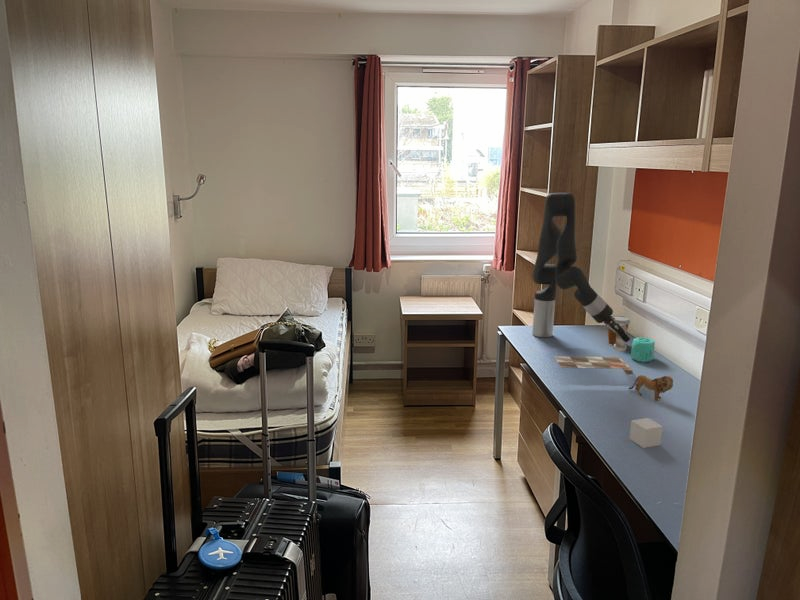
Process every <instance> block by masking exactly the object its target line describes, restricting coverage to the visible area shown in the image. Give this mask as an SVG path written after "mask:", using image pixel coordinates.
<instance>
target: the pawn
mask: <svg viewBox="0 0 800 600" xmlns="http://www.w3.org/2000/svg"><path fill="white" fill-rule="evenodd" d="M620 326H621V328H622V329H623V330H624V331H625V333H626V331H627V332H628V329H627V327H626V325H624V324H620ZM626 334H627V333H626ZM612 346H613V347H612V348H613V350H615V351H619V352H624V351H626V350H627V348H628V347H627V345H626V342H625V341H624V340H623V339H622V338H621V337H620V336H618V334H617V335H616V344H614V345H612Z"/></svg>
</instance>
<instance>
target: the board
mask: <svg viewBox="0 0 800 600" xmlns="http://www.w3.org/2000/svg"><path fill="white" fill-rule="evenodd" d="M553 358H554V359H555V360H556V362H557V363H558V365H559V366H560V368H562V369H621V370H622V371H624V372H625V373H626V374H633V369H632V368H631V367H630V366H629V365H628V364H627V363H626V362H625V361H624V360H623V359H622V358H621V357H620V356H559V355H558V356H556V355H555V356H553Z"/></svg>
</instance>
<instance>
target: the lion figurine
mask: <svg viewBox="0 0 800 600" xmlns="http://www.w3.org/2000/svg"><path fill="white" fill-rule="evenodd" d="M642 386H644V387H645V388H647V389H648V390H650V391H654V401H655V402H659V399H662V398H661V396H660V394H664V393H665V392H667V391H670V390H672V388H673V387H674V379H673V377H671V376H670V375H664V376H661V377H656V378H654V379H651V378H649V377H647V376H646V375H638V376H637V377H636V378H635V381H634V383H633V385H632V386H631V387H629V388H627V389H628V390H633V389H634V390H635V391H636V392H637V395H638V396H642V395H643V394H642V393H641V392H640V391H641V390H640V389H642ZM634 387H635V388H634Z"/></svg>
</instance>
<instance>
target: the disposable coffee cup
mask: <svg viewBox="0 0 800 600" xmlns="http://www.w3.org/2000/svg"><path fill="white" fill-rule="evenodd" d="M611 316H612V317H613V318H615V319H616V320H617V322H618V324H619V325H620V324H624V325H626V327H627V331H626V334H627V333H628V329H629V325H630V323H631V321H630V318H629V317H628V316H625V315H617V314H615V315H614V314H612V315H611ZM607 329H608V330H607V331H608V333H607V334H608V336H607V337H608V344H609V345H610V344H612V345H611V346H614V344H616V335H617V333H615V332H613V331H612V330H611V329H610V328H609V327H608V326H607Z"/></svg>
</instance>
